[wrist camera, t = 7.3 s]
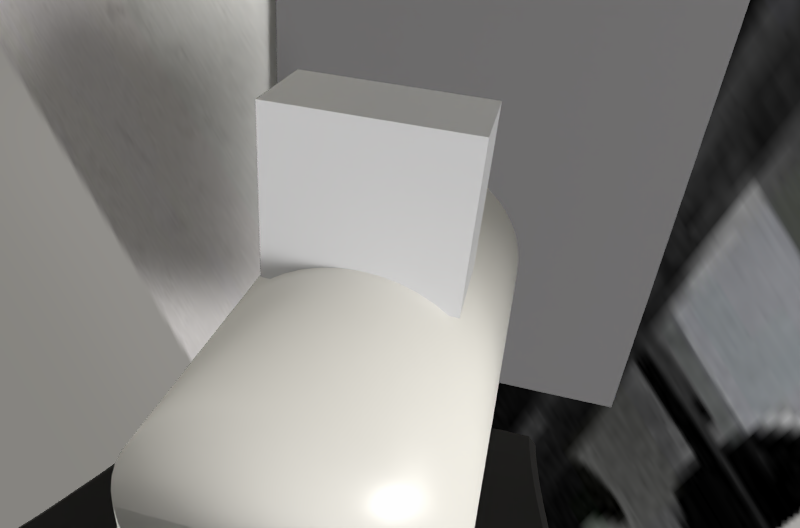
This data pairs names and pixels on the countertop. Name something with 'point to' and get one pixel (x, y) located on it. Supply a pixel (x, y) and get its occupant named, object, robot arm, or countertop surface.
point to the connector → (345, 327)
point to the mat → (554, 143)
